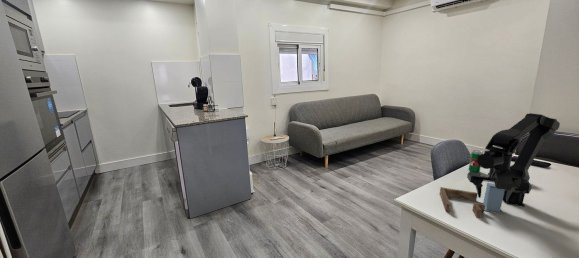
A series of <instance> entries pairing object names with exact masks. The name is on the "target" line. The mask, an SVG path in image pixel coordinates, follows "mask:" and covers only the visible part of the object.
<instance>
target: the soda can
mask: <svg viewBox="0 0 579 258" xmlns="http://www.w3.org/2000/svg"><path fill="white" fill-rule="evenodd" d="M481 154H484V153H483V151H480V150H478V149H477V150H474V149H473V150H472V151H471V154H470V160H469V165H468V171H469V172H475V173H480V172H481V168H482V167H481V166H479V164H478V162H477V158H478V157H479V156H480V155H481Z"/></svg>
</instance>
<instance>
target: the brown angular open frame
mask: <svg viewBox="0 0 579 258" xmlns="http://www.w3.org/2000/svg"><path fill="white" fill-rule="evenodd" d="M439 196H440V199H441V202H442V205H443V207H444V211H445V213H450V209H451V203H450V200H449V197H450V198H455V199H460V200H461V199H462V200H465V201H466V200H468V201H473V204H472V209H471V210H472V213H473V214H474V217H475V218H476V219H481V216H482V215H481V214H485V211H484V209H485V205H484V204H479V202H478V203H477V198H478V194H477V192H475V191H468V190H461V189H456V188H449V187H448V188H447V187H440V189H439Z"/></svg>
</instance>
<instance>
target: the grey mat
mask: <svg viewBox="0 0 579 258" xmlns="http://www.w3.org/2000/svg"><path fill="white" fill-rule="evenodd" d="M478 203H479V204H483V202H478ZM484 212H489V213H494V214H498V215H499V214H500V215H505V213H504V211H503V210H502V209H500V212H498V211H493V210H487V209H486V208H485V209H484Z"/></svg>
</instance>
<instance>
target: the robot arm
mask: <svg viewBox="0 0 579 258" xmlns="http://www.w3.org/2000/svg"><path fill="white" fill-rule="evenodd" d="M560 123H561V122H559V121H558V120H557V119H556V118H552V117H549V116H546V115H544V114H541V113H531V112H530V113H526V114H525V115H524V117H523V118H522V119H520V120H519V121H518V122H517V123H515V124H514V125H513V126H511V127H510V128H508V129H503V130H500V131H498V132H496V133H495V134H493V135H492V137H491V138H490V140H488V143H487V144H486V146H485V147H484V149H485V150H484V153H483V154H481V155H480V156H479V157H478V158H477V162H478V164H479V166H481V168H482V169H486V170H489V171H488V172H487V176H483V175H482V174H481V173H480V172H479V173H475V172H470V171H469V172H468V173H467V174H466V178H467V179H468V182H469V183H471V184H472V185H473V186H475V189H476V193H477V198H479V199H481V196H482V188H483V187H484V184H483V182H487V183H493V184H495V187H496V188H498V189H505V191H504V196H503V200H502V202H503V203H504V204H508V205H513V206H519V207H520V206H521V207H525V204H524V203H523V202H524V200H525V197H526V196H525V195H526V194H527V195H529V194H530V193H531V191H532V187H533V186H532V184H531V183H530V178H531V177H530V174H529V169H530V167H531V165H532V164H533V162H534V160H535V158H536V156H537V154H538V152H539V150H540V149H541V146H542V144H543V143H544V141H545V140H547V139H548V138H550V137H551V136H554V134H555V132H556V131H558V130H559V129H560V126H561V125H560ZM527 134H529V135H528V137H527V138H526V140H525V142H524V144H523V146H522V147H521V150H520V152H519V153H518V156H517V157H516V159H515V162H514V163H513V164H514V165H512V164H511V163H512V159H513V154H516V151H517V150H518V148H519V147H520V145H521V139H523V137H525V136H526V135H527ZM510 165H512V166H510Z"/></svg>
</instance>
